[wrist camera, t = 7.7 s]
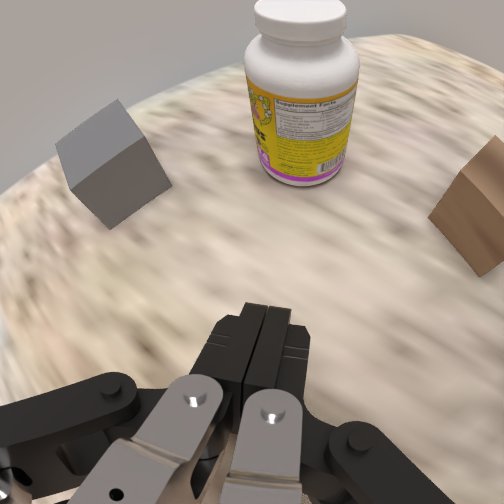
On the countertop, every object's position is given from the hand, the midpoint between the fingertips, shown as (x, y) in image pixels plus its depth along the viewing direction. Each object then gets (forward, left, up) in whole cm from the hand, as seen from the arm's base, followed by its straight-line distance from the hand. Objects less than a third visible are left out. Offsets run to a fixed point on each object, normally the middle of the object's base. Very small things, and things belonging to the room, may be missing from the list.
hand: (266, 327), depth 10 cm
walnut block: (-17, -4, -9) cm, 20 cm away
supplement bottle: (-5, -14, -9) cm, 17 cm away
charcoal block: (+9, -15, -9) cm, 20 cm away
